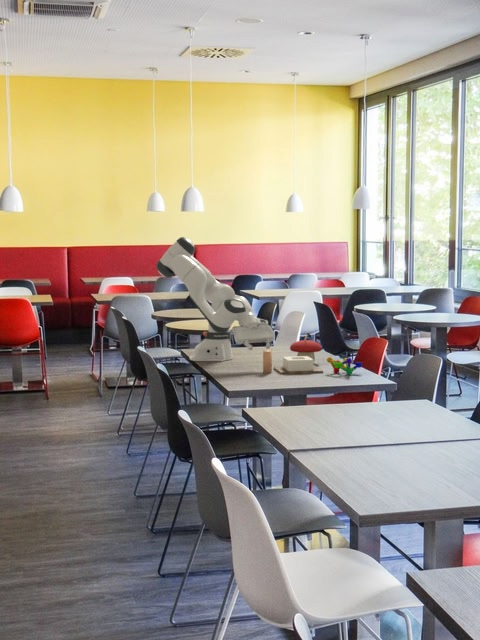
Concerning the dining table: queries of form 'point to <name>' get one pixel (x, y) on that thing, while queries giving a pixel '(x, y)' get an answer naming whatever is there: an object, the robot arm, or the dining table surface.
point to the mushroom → (306, 347)
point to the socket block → (298, 363)
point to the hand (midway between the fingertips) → (259, 348)
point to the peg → (267, 361)
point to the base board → (284, 371)
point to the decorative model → (340, 365)
